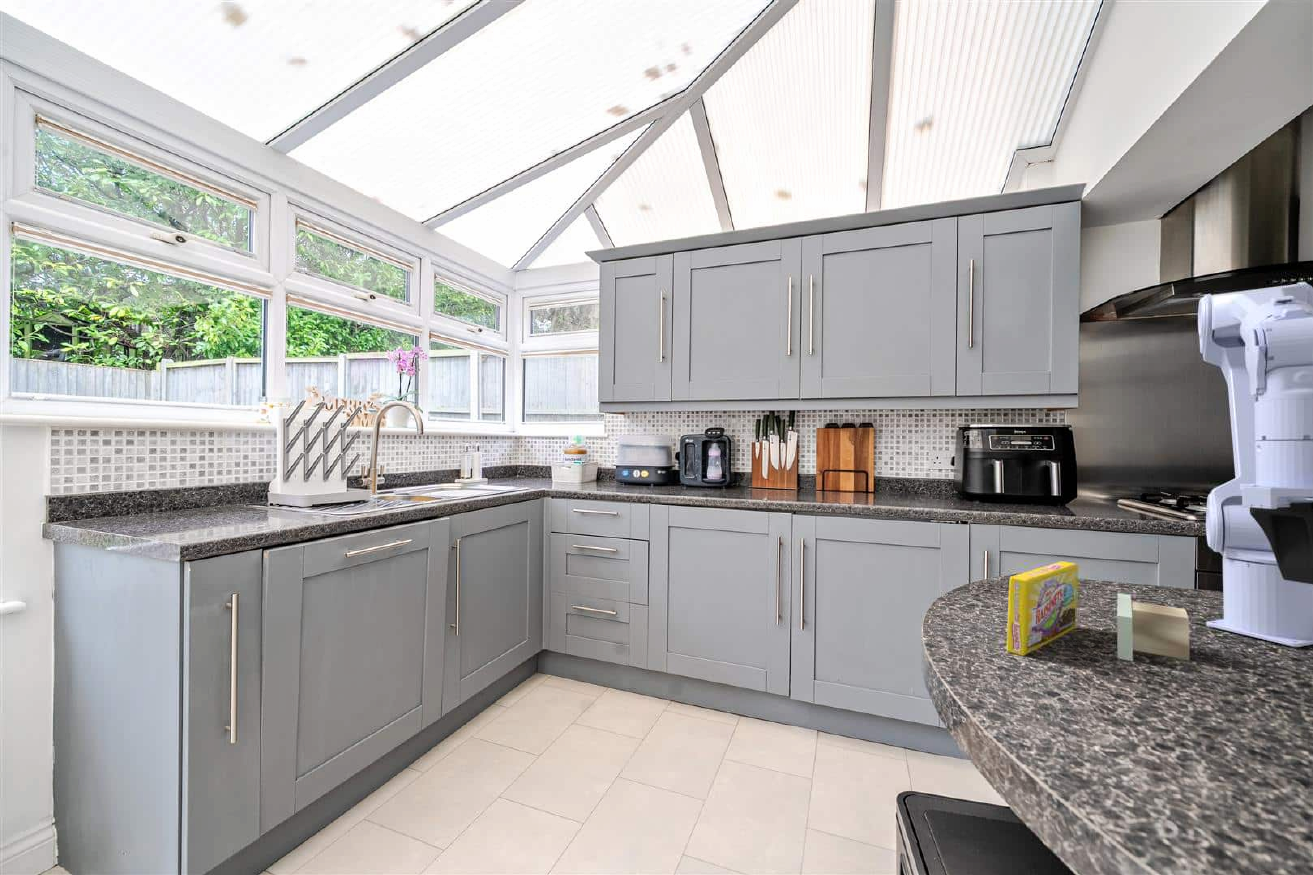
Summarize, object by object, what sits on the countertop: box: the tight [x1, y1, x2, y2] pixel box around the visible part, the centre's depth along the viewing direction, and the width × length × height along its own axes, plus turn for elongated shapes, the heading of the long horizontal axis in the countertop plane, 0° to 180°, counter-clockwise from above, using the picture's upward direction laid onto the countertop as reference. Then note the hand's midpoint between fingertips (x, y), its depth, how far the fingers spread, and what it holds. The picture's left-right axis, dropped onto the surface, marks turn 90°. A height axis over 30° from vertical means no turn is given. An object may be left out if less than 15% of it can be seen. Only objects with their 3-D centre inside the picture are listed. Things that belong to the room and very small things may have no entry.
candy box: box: [1006, 560, 1079, 657], centre depth 62 cm, size 16×2×8 cm, turn 126°
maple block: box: [1131, 600, 1190, 661], centre depth 59 cm, size 4×4×4 cm
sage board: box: [1116, 592, 1134, 662], centre depth 61 cm, size 1×12×4 cm, turn 139°
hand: (1302, 581), depth 52 cm, fingers closed
